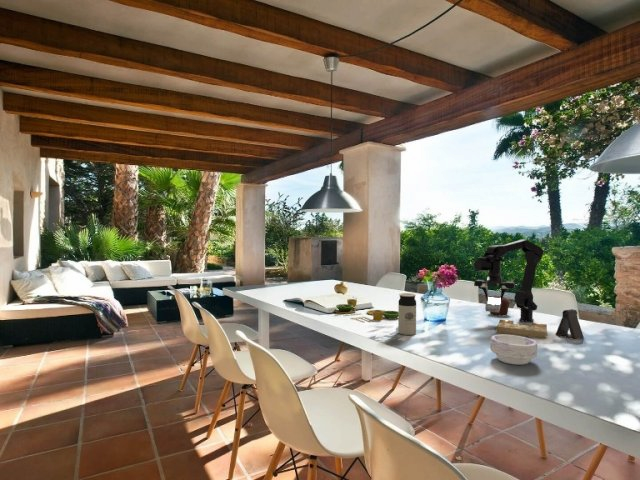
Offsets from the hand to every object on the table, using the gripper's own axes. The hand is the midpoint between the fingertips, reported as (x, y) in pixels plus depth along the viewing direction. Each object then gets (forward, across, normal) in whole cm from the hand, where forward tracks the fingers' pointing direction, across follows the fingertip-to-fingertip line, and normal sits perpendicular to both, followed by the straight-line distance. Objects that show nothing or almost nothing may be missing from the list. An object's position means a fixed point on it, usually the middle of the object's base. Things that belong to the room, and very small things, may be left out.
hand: (494, 300), depth 209 cm
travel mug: (+11, -31, -44) cm, 55 cm away
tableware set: (+12, -67, -13) cm, 69 cm away
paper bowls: (+11, +15, -63) cm, 66 cm away
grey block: (+3, 0, -2) cm, 4 cm away
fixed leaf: (+11, +14, -15) cm, 23 cm away
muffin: (+12, -1, +26) cm, 29 cm away
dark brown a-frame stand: (+12, +33, -12) cm, 37 cm away
